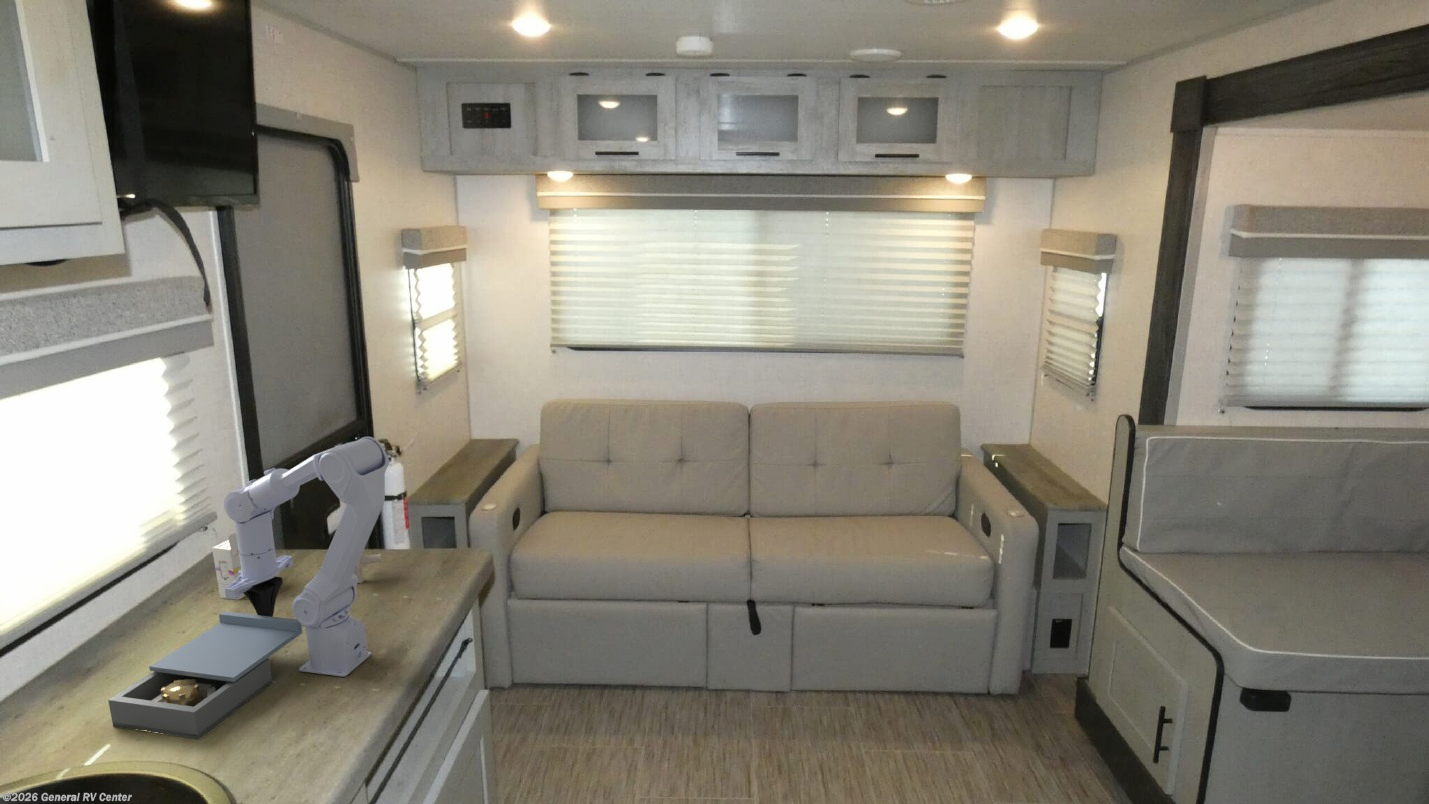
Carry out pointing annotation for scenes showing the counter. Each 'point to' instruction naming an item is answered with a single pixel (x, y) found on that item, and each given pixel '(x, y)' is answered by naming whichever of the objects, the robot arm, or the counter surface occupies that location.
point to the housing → (217, 703)
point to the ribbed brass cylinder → (181, 693)
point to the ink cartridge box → (227, 564)
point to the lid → (230, 647)
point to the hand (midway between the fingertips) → (266, 617)
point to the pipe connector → (365, 560)
